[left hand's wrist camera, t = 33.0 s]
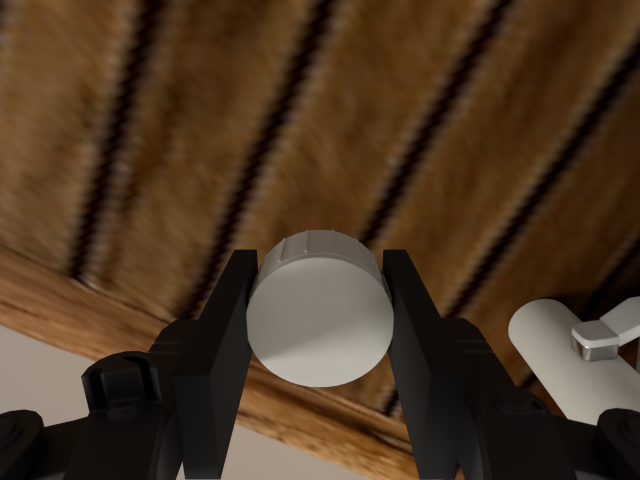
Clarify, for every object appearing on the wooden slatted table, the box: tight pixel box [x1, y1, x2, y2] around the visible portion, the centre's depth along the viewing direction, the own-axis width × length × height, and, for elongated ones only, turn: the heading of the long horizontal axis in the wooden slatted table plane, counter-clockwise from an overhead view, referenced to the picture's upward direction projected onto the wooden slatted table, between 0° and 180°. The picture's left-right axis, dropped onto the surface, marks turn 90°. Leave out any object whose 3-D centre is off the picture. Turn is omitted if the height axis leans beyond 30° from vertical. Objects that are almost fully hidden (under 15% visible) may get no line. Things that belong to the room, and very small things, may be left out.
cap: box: [246, 230, 394, 387], centre depth 13 cm, size 4×4×2 cm
